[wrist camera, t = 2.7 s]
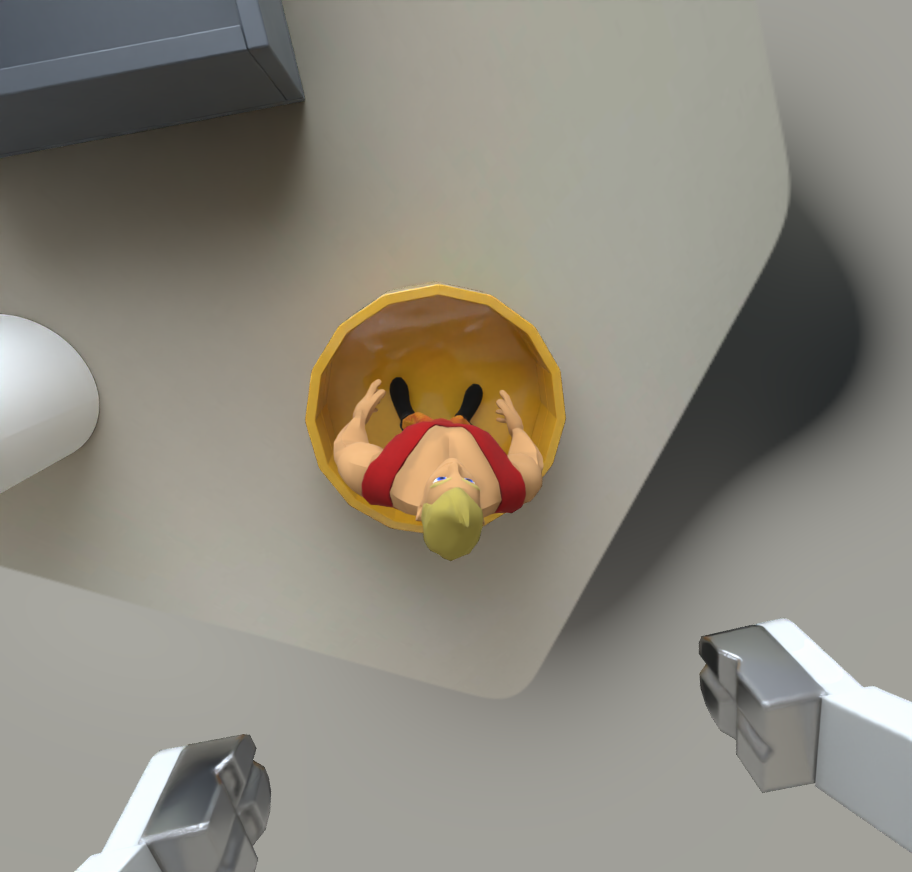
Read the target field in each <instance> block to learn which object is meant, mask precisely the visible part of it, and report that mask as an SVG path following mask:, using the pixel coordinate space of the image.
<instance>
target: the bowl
mask: <svg viewBox="0 0 912 872" xmlns="http://www.w3.org/2000/svg"><path fill="white" fill-rule="evenodd" d="M396 377H402V379H403V380H404V381H405V382H406V384H407V385H408V389H409V399H410V404H411V407H412V409H413V410H414V412H415V413H416V412H420V413H423V414H425V415H427V416H428V417H430V418H432V419H433V420H434V419H439V418H444V419H447V420H450V419H451V418H453V417H454V416H455V414H456V413H457V412H458V411H459V409H460V408H461V405H462V402H463V398H464V394H465V391H466V390H467V389H468V387H469V386H471V385H472V384H479V385H480V387H481V388H482V391H483V398H482V401H481V403H480V405H479V407H478V409H477V411H476V413H475V414H474V416H473V417H472V418H471V420H470V423H471V424H472V425H474V426H476V427H478V428H480V429H482V430H484V431H486V432H488V433H489V434H490V435H491V436H492V437H493V438H494V439H495V440H496V442H497V443H498V444H499V446H500V447H501V448H502V450H503V451H504V452H505V453H506V455H508V452H509V449H510V446H511V440H512V437H511V435H510V434H509V431H508V427H507V423H501V422H498V421H496V419H497V418H505V416H504V415H500V414H497V413H496V410H498V409H500V408H499V407H498V406H497V404H496V401H497V400H498V399H502V400H503V398H502V397H501V396H500V393H499V392H500V390H504V391H505V392H506V393H507V394H508V395H509V396H510V399H511V401H512V404H513V407H514V408H515V410H516V411H517V413H518V415H519V416H520V418H521V420H522V424H523V430H524V431H525V432H526V434H527V435H528V436H529V437H530V439H531V440H532V441H533V442H534V444H535V445H536V446H537V448H538V449H539V451H540V453H541V455H542V457H543V470H542V478H543V476H544V475H545V474H546V472H547V471H548V470H549V469H550V467H551V466H552V464H553V462H554V458H555V455H556V451H557V448H558V444H559V441H560V438H561V434H562V431H563V427H564V424H565V420H566V415H565V406H564V397H563V388H562V380H561V372H560V369H559V367H558V365H557V364H556V362H555V360H554V359H553V357H552V355H551V353H550V352H549V350H548V348H547V346H546V345H545V343H544V341H543V340H542V338H541V336H540V334H539V333H538V331H537V329H536V328H535V327H534V326H533V325H532V324H531V323H529V322H528V321H526V320H525V319H524V318H522V317H521V316H520V315H518V314H517V313H515V312H514V311H513V310H511V309H510V308H509V307H507V306H506V305H505V304H503V303H502V302H500V301H499V300H498V299H496V298H495V297H494V296H491V295H489V294H487V293H484V292H482V291H477V290H473V289H468V288H464V287H460V286H455V285H450V284H446V283H441V282H430V283H425V284H419V285H413V286H408V287H404V288H399V289H394V290H389V291H386V292H385V293H384V294H382V295H381V296H379V297H378V298H376V299H375V300H373V301H372V302H371V303H369V304H367V305H366V306H365V307H363V308H362V309H360V310H359V311H357V312H356V313H355V314H353V315H352V316H350V317H349V318H348V319H346V320H345V321H344V322H343V323H342V324H341V325H340V326H339V327H338V328H337V330H336V331H335V333H334V335H333V336H332V338H331V340H330V341H329V343H328V345H327V346H326V348H325V349H324V351H323V353H322V354H321V356H320V358H319V359H318V361H317V362H316V364H315V366H314V367H313V369H312V372H311V378H310V386H309V394H308V402H307V410H306V417H305V423H306V426H307V429H308V433H309V436H310V440H311V443H312V446H313V450H314V453H315V456H316V460H317V463H318V466H319V468H320V470H321V471H322V472H323V474H324V475H325V476H326V477H327V479H328V480H329V481H330V482H331V483H332V485H333V486H334V487H335V488H336V489H337V491H338V492H339V493H340V494H341V496H342V497H343V498H344V499H345V500H346V502H347V503H348V504H349V505H350V506H351V507H353V508H355V509H357V510H359V511H360V512H362V513H364V514H366V515H368V516H369V517H371V518H373V519H375V520H377V521H378V522H380V523H382V524H384V525H386V526H388V527H389V528H392V529H398V530H405V531H412V532H418V533H423V524H422V521H416V516H415V515H410V514H406V513H404V512H402V511H400V510H397V509H395V508H392V507H385V506H379V505H370V504H369V503H368V502H367V501H366V500H365V499H364V498H363V497H362V496H360V495H359V494H357V493H356V492H354V491H353V490H352V489H351V488H350V487H349V486H348V485H347V484H346V483H345V482H344V480H343V479H342V478H341V476H340V474H339V472H338V467H337V465H336V463H335V460H334V441H335V440H336V438H337V436H338V434H339V433H340V432H341V430H342V429H343V428H344V427H345V426H346V425H347V424H348V423H349V422H350V421H351V420H352V419H353V412H354V410H355V407H356V406H357V404H358V403H359V402H360V401H361V400H362V399H363V398H364V397H365V395H366V394H367V391H368V390H369V388H370V386H371V384H372V383H373V382H374V381H376V380H377V379H379V380H381V385H380V386H379V387H378V388H377V389H379V390H380V389H383V390H385V391H386V394H385V396H384V398H382V399H381V400H380V403H379V404H377V405H376V407H375V408H377V409H378V411H377V412H373V413H372V415H371V417H370V419H369V421H368V423H367V424H365V430H366V433H367V437H368V441H369V444H374V445H377V446H379V447H381V448H383V449H384V448H385V446H386V445H387V444H388V443H389V442H390V441H391V440H392V439H393V438H394V437H395V436H396V435H398V434H400V433H401V432H402V430H401V428H400V422H401V420H400V418H399V416H398V414H397V412H396V409H395V407H394V405H393V402H392V400H391V396H390V391H389V388H390V384H391V382H392V380H393V379H394V378H396ZM503 514H504V513H494V514H491V515H488V516H486V517H484V521H485V525H486V524H488V523H490V522H491V521H493V520H495V519H496V518H498V517H500V516H501V515H503ZM485 525H484V526H485Z"/></svg>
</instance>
